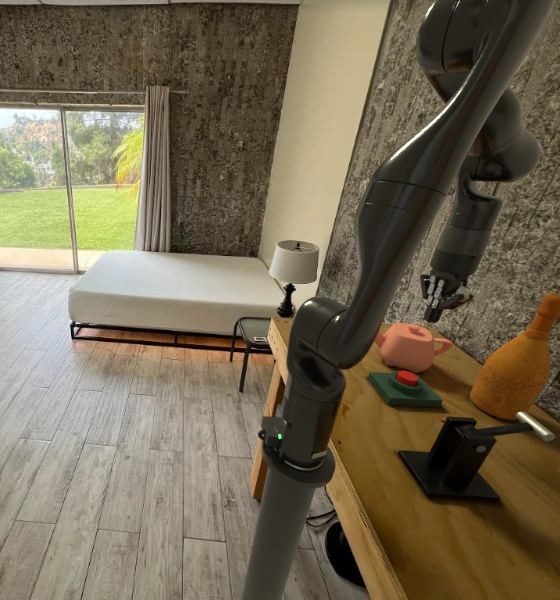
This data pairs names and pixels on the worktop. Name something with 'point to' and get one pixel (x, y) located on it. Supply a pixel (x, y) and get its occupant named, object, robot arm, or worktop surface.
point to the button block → (403, 391)
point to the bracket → (453, 464)
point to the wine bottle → (518, 367)
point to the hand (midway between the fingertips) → (430, 321)
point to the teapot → (409, 347)
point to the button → (407, 378)
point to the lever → (507, 429)
